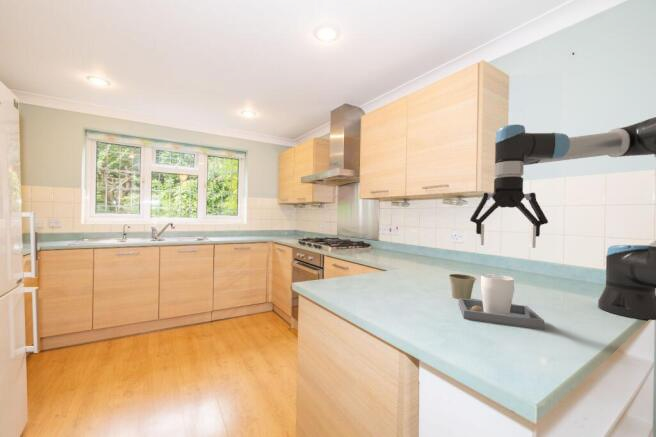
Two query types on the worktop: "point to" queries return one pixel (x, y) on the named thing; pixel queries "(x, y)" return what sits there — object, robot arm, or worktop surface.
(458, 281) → the flower pot
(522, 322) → the tray
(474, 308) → the ball
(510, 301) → the cup
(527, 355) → the worktop surface
